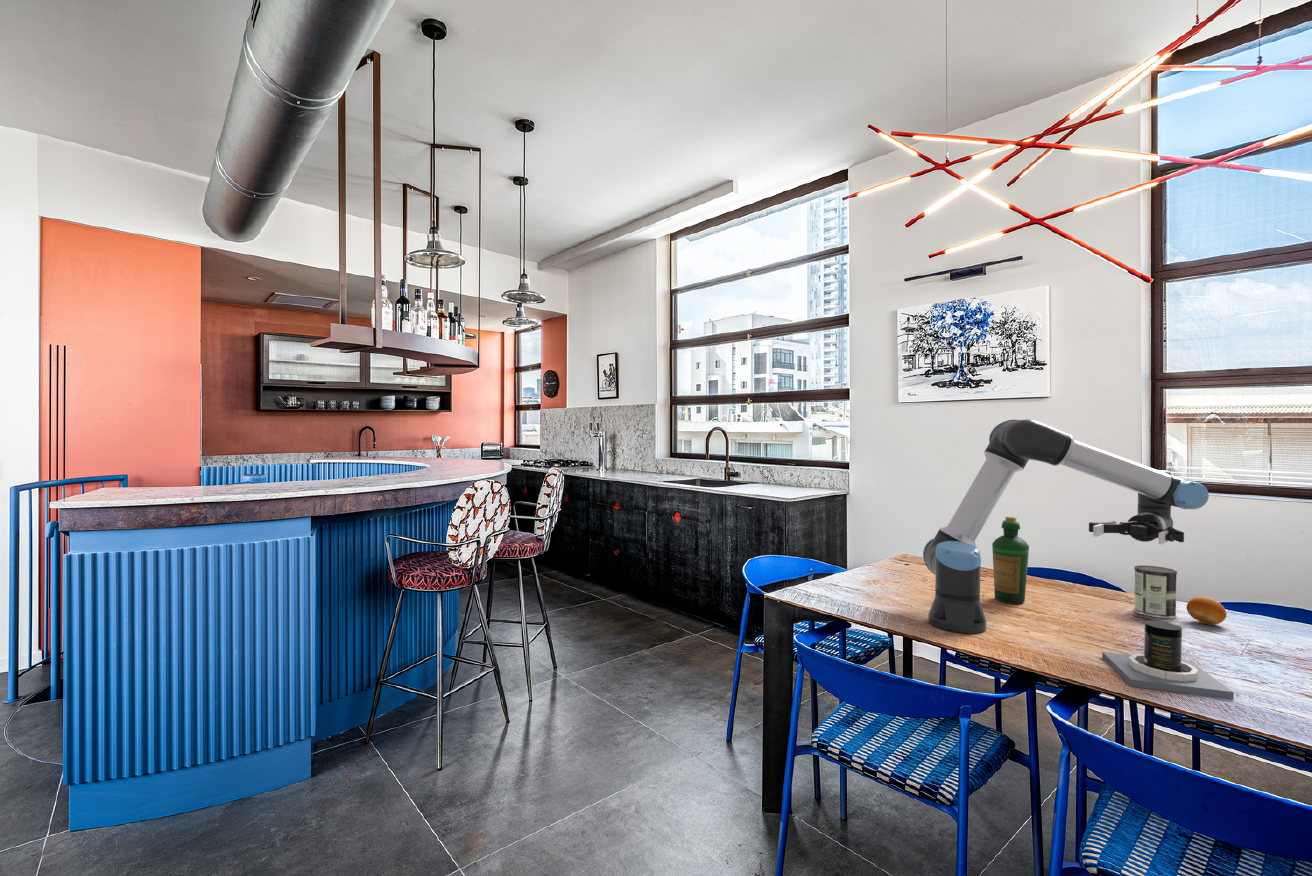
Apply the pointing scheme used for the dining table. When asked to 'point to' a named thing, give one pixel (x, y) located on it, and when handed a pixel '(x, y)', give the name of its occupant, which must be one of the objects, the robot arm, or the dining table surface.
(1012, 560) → the bottle
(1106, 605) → the dining table surface
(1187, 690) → the ring board
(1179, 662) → the supplement container
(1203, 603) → the fruit
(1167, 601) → the coffee can
